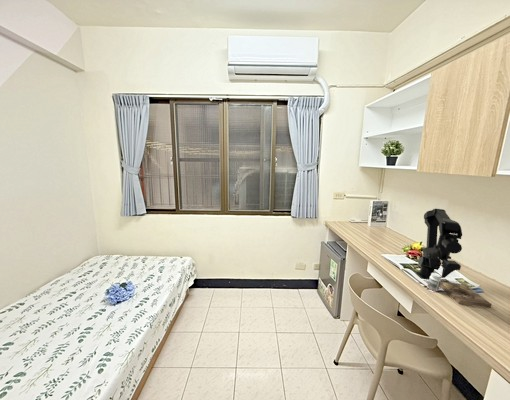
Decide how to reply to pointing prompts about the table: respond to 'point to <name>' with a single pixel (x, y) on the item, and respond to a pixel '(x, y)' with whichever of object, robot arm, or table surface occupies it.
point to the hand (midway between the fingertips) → (436, 272)
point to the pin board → (471, 295)
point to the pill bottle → (434, 281)
